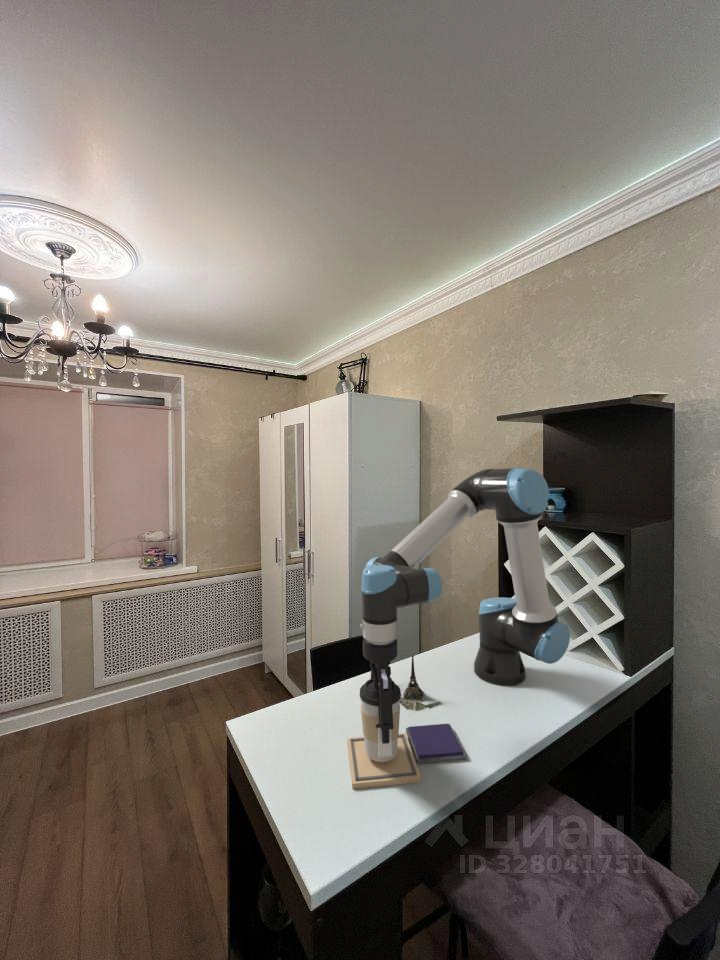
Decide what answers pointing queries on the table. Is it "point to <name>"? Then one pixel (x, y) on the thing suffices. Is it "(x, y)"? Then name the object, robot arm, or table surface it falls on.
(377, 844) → the table surface
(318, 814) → the table surface
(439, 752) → the ink pad
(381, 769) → the square wooden board
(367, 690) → the coffee cup
